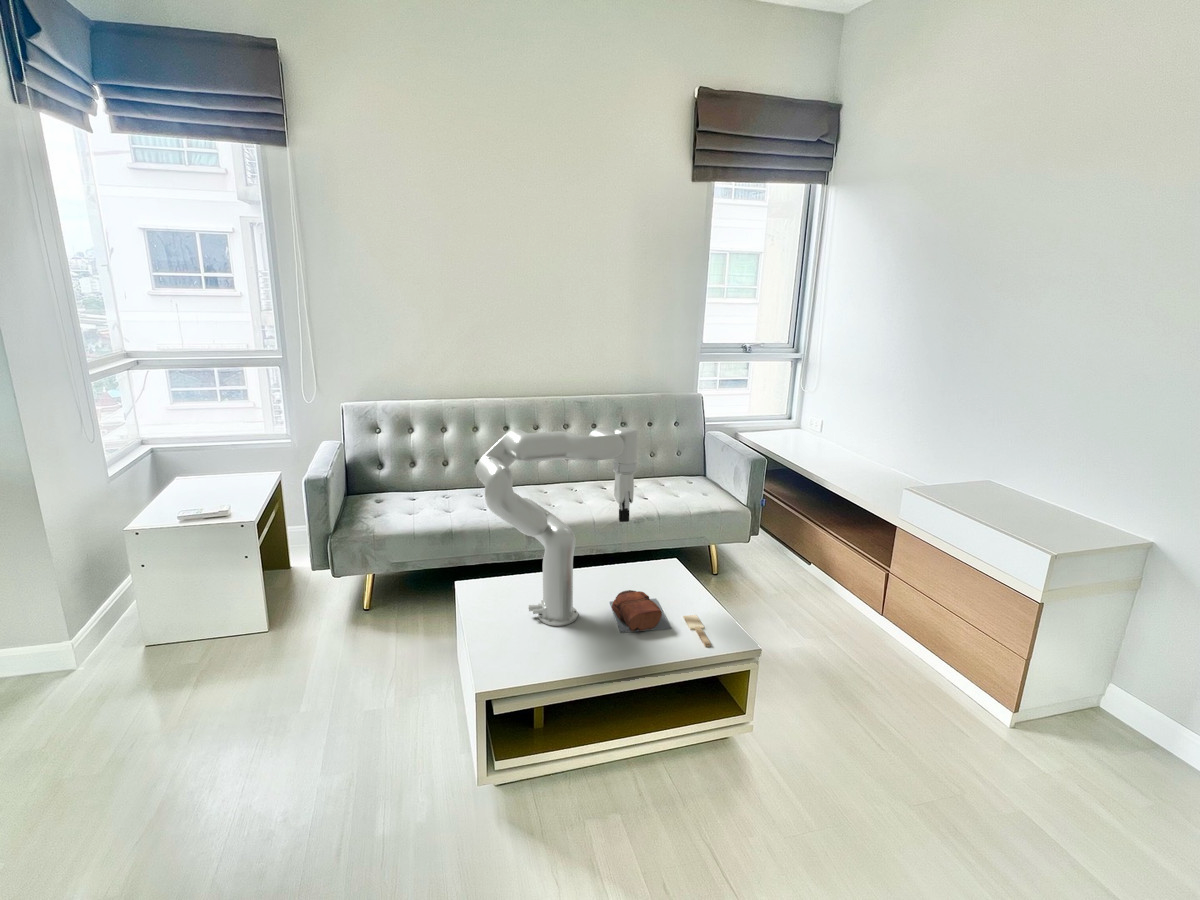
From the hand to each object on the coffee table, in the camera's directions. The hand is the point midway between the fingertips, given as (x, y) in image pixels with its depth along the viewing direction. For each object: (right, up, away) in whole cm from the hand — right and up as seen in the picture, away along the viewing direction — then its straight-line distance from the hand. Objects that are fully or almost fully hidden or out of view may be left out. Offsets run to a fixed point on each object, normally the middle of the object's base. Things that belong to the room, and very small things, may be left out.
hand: (623, 520), depth 201 cm
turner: (+22, -33, -10) cm, 41 cm away
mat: (+5, -30, -2) cm, 31 cm away
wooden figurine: (+6, -29, -13) cm, 33 cm away
